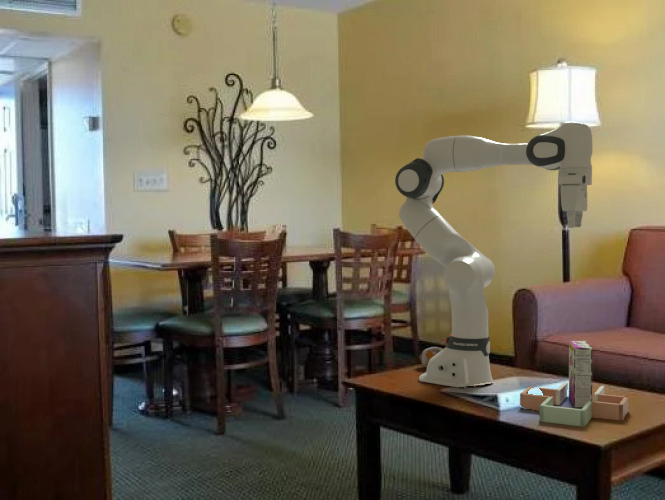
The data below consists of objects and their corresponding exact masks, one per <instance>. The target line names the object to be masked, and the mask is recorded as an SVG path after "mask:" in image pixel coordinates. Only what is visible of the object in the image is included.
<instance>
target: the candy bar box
mask: <svg viewBox="0 0 665 500" xmlns="http://www.w3.org/2000/svg"><path fill="white" fill-rule="evenodd" d="M568 347H569V348H568V398H569V400H570V402H571V404H572V406H573V407H574V409H582V408H583V407H584V406H585V404H586V403H587V402H588V401H593V348H592V347H591V345H590V344H589V343H588V342H587V341H586V340H569V341H568Z"/></svg>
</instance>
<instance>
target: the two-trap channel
mask: <svg viewBox="0 0 665 500" xmlns="http://www.w3.org/2000/svg"><path fill="white" fill-rule="evenodd" d="M534 387H535V386H528V387H527V388H526V389H524V390H523V391H522V392H520V394H519V406H520V405H521V406H522V407H524V408H527V409H532V410H531V411H534V410H537V411H536V412H539V422H543V423H549V424H550V423H551V424H557V425H558V424H559V425H567V426H575V427H582V428H585V427H586V426H587V425H588V423H589V422H590V421H591V419H592V418H594V419H595V418H596V419H603V420H612V421H621V422H623V421H624V420H625V418H626V416H627V415H628V413H629V396H623V395H614V394H605V390H606V388H605V385H600V387H598V388H597V390H596V391H595V392H594V393H593V400H592V401H588V402H587V403H586V404H585V406H584V407H583V408H575V407H574V408H572V407H564V406H560V405H561V404H562V403H563V402H564V401H565V400H566V399H567V398H568V397H567V390H568V391H569V381H568V382H567V381H564V382H563V383H561V385H560V386H559V387H558V388H549V387H547V388H546V387H539V389H540V390H541V391H542V393H543V396H542V395H533V394H528V391H529V390H530V389H531V388H534ZM566 397H567V398H566ZM555 405H557V406H555Z"/></svg>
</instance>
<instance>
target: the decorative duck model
mask: <svg viewBox="0 0 665 500" xmlns="http://www.w3.org/2000/svg"><path fill="white" fill-rule="evenodd" d="M443 349H444V348H443V347H439V346H431V347H428V348H425V349H424V350H422V352H421V354H419V355H418V356H419V360H420V362H421V364H422V365H423V366H424V367H425V368H426V369H427V366H428V362H429V360H430V359H431V358H432V357H433V356H435V355H436V354H437V353H439V352H440V351H441V350H443Z"/></svg>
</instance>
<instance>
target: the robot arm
mask: <svg viewBox="0 0 665 500" xmlns="http://www.w3.org/2000/svg"><path fill="white" fill-rule="evenodd" d="M422 155H423V156H422V158H420V157H417V158H415V159H413V160H412V161H410V162H409V163H407V164H405V165H403V166H402V167H401V168H400V169H399V170H397V173H396V175H395V179H394V183H395V186H396V187H395V188H396V190H397V191H398V192H399V193H400V194H401V195H402V196H404V197H405V198H406V199H405V201H404V202H403V204H402V205H401V206H400V208H399V210H398V217H399V219H400V221H401V222H402V224H403V226H404V227H405V228H406V230H407V232H408V233H409V234H410V235H411V236H412V238H413V239H414V240H415V241H416V242H417V243H418V245H420V247H421V248H422V249H423V250H424V251H425V252H426V253H427V255H429V257H430V258H431V259H433V260H435V261H436V262H438V263H439V264H441V265H442V266H443V267H445V270H444V272H443V277H444V283H445V285H446V286H447V290H448V296H449V301H450V307H451V308H450V309H451V334H449V335H448V336H447V337H445V339H444V341H443V343H445V347H444V348H443V350H441V351H440V352H439V353H437V354H436V355H435V356H433V357H432V358H431V359H430V360H429V362H428V366H427V368H426V370H425V372H424V373H421V374H420V375H419V378H418V379H419V381H420V382H421V383H422V382H423V383H430V384H435V385H442V386H447V387H448V386H449V387H452V388H459V387H464V386H469V385H474V384H480V383H486V382H492V381H493V382H494V379H493V377H492V376H493V375H492V372H491V364H490V358H489V357H490V356H489V355H490V353H491V352H490V351H491V341H490V336H489V309H488V307H487V303H486V299H485V297H486V296H485V293H484V292H485V289H484V288H486V287H488V286H489V285H490V284H491V282H492V281H493V280H494V278H495V275H496V268H495V265H494V263H493V261H492V260H491V259H490V258H488V257H487V256H485V255H484V254H483V253H482V252H481V251H480V250H479V249H478V248H476V247H475V246H474V245H473V244H472V243H470V242H469V241H468V240H467V239H465V238H464V237H463V236H462V235H461V234H460V233H459V232H457V230H455V229H454V227H452V225H451V224H450V223H449V222H448V221H447V220H446V219H445V218H444V217H443V216H442V215H441V214H440V212H438V210H437V209H436V208H435V206H433V204H434V203H435V202H436V200H437V199H438V197H439V195H440V193H441V192H442V190H443V189H444V185H445V177H444V175H443V174H446V173H466V172H475V171H481V170H485V169H490V168H494V167H499V166H505V165H506V166H507V165H508V166H509V165H510V166H511V165H532V166H533V165H534V166H535V167H537V168H541V169H545V170H548V171H558V170H559V176H558V185H559V186H560V204H561V205H560V206H561V210H562V211H563V212H566V219H567V227H568V228H569V229H575V228H581V227H582V222H583V221H582V220H583V215H584V212H587V210H588V186H592V185H593V183H592V182H593V165H592V160H591V159H592V157H593V134H592V130H591V128H590V127H589V126H588V125H587V124H585V123H581V122H576V121H565V122H563V123H562V124H561V125H560V126H558V127H557V128H554V129H552V130H551V131H548V132H545V133H541V134H539V135H536V136H533V137H532V138H531V139H530V140H529V142H528V143H502V142H496V141H494V140H491V139H486V138H484V137H479V136H473V135H450V136H444V137H438V138H434V139H431V140H429V141H428V142H427V143H426V144H425V146H424V149H423V154H422ZM464 388H465V387H464Z"/></svg>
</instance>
